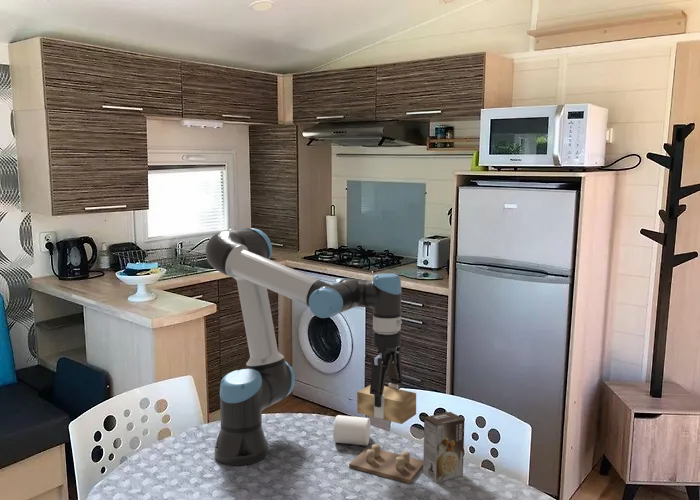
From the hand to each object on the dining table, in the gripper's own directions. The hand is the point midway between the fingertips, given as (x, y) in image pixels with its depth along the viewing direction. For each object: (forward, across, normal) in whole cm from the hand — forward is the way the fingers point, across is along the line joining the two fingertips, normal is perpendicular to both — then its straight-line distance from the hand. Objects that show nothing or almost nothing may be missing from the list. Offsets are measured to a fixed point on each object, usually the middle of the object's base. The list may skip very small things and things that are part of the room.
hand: (386, 411), depth 161 cm
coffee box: (+17, +4, -15) cm, 23 cm away
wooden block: (+1, 0, 0) cm, 1 cm away
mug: (+16, +11, +16) cm, 25 cm away
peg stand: (+16, +1, 0) cm, 16 cm away
